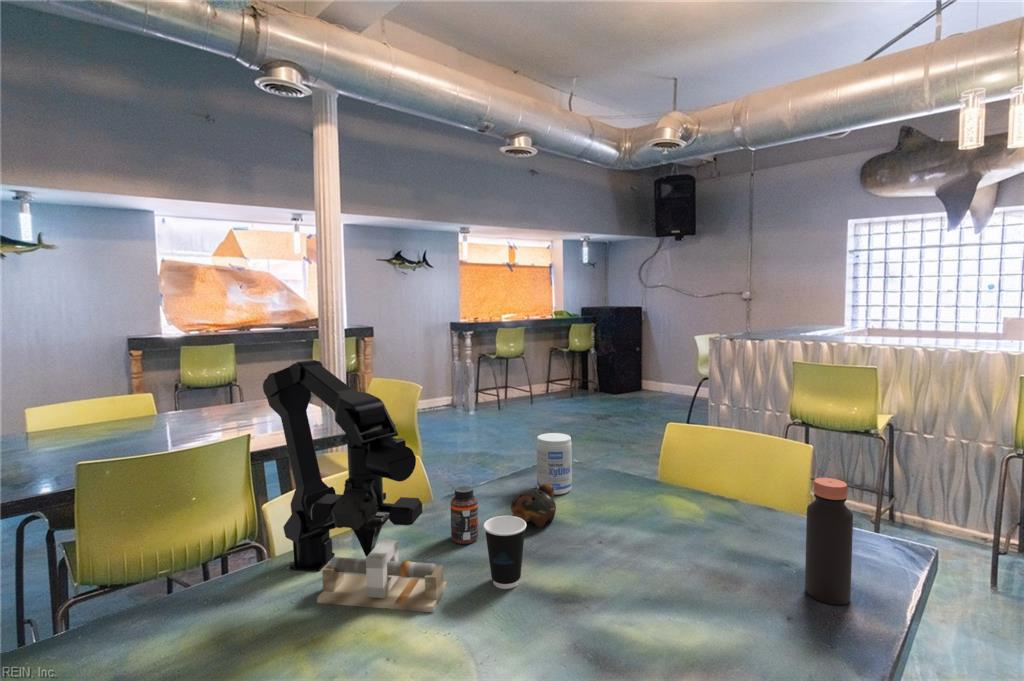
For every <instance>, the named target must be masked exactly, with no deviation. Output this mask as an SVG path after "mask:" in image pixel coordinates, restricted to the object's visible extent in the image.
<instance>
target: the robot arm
mask: <svg viewBox="0 0 1024 681" xmlns="http://www.w3.org/2000/svg"><path fill="white" fill-rule="evenodd" d="M266 377H267V378H265V379H264V380H263V383H262V389H263V393H264V395H265V396H266V400H267V402H268V405H269V407H270V408H271V409H272V410H273V411H274V412H275V413H276V414H277V415H278V416H279V417H280V419H281V420H280V421H281V424H282V429H283V433H284V434H283V435H284V438H285V443H286V448H287V451H288V458H289V461H290V466H291V470H292V474H293V475H292V476H293V480H294V485H295V490H294V493H293V495H292V498H291V501H290V511H291V515H290V516H289V518H288V519H287V521H286V522H285V524H284V525H283V533H284V535H285V538H286V539H288V540H290V541H292V546H293V550H292V551H293V562H292V563H291V564H289V569H290V570H301V571H314V572H318V571H320V570H321V571H322V569H323V568H324V567H325V566H326V565H327V564H328V563H329V562H330V561H331V559H332V558H333V557H336V556H335V555H336V554H335V552H333V539H332V538H331V537H330V531H331V530H334V529H336V528H337V529H342V528H345V529H346V528H348V529H351V530H352V531H353V533H354V534H355V536H356V538H357V540H358V542H359V544H360V547H361V549H362V551H363V553H364V556H365V557H367V556H368V555H369V554H370V552H371V551H372V550H373V549H374V548H375V547H376V546H377V541H378V539H379V536H380V533H381V531H382V528H383V526H384V525H385V524H386V523H387V522H388V520H389V521H390V522H391V523H392V525H394V526H411V525H413V524H414V523H416V521H417V519H419V517H420V516H421V515H422V514H423V503H422V501H421V500H420V498H419V497H405V496H404V497H403V496H400V497H399V498H398V499H397V500H396V501H395V502H394V503H390V502H384V501H385V500H386V499H387V493H386V492H384V487H383V486H384V484H383V482H384V480H383V479H384V478H385V479H388V480H392V481H395V482H405V481H406V480H408V479H410V477H411V476H412V474H413V473H414V471H415V468H416V463H417V457H416V455H415V452H414V451H413V449H412V448H411V447H409V446H406V439H405V438H403V437H402V438H401V437H399V438H396V437H398V436H399V432H398V430H397V428H396V424H395V423H394V421H393V420H392V418H391V415H390V414H389V412H388V410H387V408H386V406H385V403H384V402H383V400H382V399H381V398H379V397H377V396H376V395H373V394H371V393H369V392H365V391H359V390H356V389H353V388H352V387H350V386H349V385H347V383H345V382H344V381H342V380H341V379H340V378H338V377H337V376H336V375H335V374H333V373H332V372H331V371H330V370H328V369H326V367H324V365H323V364H322V362H321V361H319V360H316V359H311V360H303V361H296V362H295V363H292V364H291V365H290V366H288V367H286V368H282V369H281V370H278V371H276V372H271V373H269V374H268V375H267V376H266ZM312 394H313V395H314V396H315V397H317V398H318V399H320V401H322V402H323V404H325V405H327V407H329V408H330V409H331V410H332V411H333V413H334V421H335V423H336V424H337V425H338V426H339V428H340V429H341V431H343V433H345V434H344V435H343V436H342V437H341V438H340V443H343V444H345V445H346V446H347V447H346V448H347V467H348V468H347V469H348V472H347V473H348V478H346V479H345V480H344V490H343V492H342V494H341V493H339V494H336V493H337V492H336V489H335V488H334V487H333V486H328V485H327V484H326V483H325V482H324V481H323V479H322V475H321V470H320V466H319V462H318V456H317V453H316V448H315V443H314V439H313V435H312V430H311V426H310V421H309V417H308V416H309V415H308V412H307V410H308V407H309V404H310V401H311V399H312ZM381 428H382V429H381Z"/></svg>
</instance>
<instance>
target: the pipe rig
mask: <svg viewBox="0 0 1024 681" xmlns="http://www.w3.org/2000/svg"><path fill="white" fill-rule="evenodd" d="M348 573H349V574H348ZM351 573H352V574H351ZM363 574H364V575H363ZM321 575H322V592H320V594H319V595H318V596H317V597H316V598H317V599H316V600H317V602H316V603H317V604H326V605H338V606H352V607H363V608H374V609H385V608H388V610H390V609H391V610H399V611H401V610H402V611H412V612H423V613H424V612H425V613H434V612H435V610H436V608H437V606H438V604H439V602H440V600H441V599H442V597H443V595H444V593H445V591H446V589H447V587H448V585H447V584H448V583H447V582H448V581H446V580H444V566H443V565H441V564H440V565H437V564H436V563H432V562H431V563H430V562H429V563H428V562H413V561H410V560H403V561H401V560H399V561H389V562H388V563H387V575H389V576H399V578H398V579H397V581H396V582H395V583H394V585H393V586H392V588H391V589H390V590H389V592H388V593H387V595H386V596H385V597H384V598H375V597H367V576H366V558H356V557H355V558H354V557H341V556H340V557H339V556H334V557H333V558H332V559H331V560H330V561H329V562H328V563H327V564H326V565H325V566H324V567H323V568H322V569H321ZM389 608H390V609H389Z"/></svg>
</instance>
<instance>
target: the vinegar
mask: <svg viewBox="0 0 1024 681" xmlns="http://www.w3.org/2000/svg"><path fill="white" fill-rule="evenodd" d="M813 496H814V497H815V500H813V501H812V502H810V503H809V504H808V505H807V508H806V528H805V529H806V530H805V533H806V534H805V563H804V564H805V565H804V566H805V568H804V570H805V571H804V572H805V573H804V590H805V592H806V594H808V595H809V596H810V597H811V598H813V599H814V600H816V601H819V602H821V603H822V604H823V603H824V604H827V605H833V606H843V605H847V604H848V603H849V602H850V601H851V596H852V594H851V593H852V592H851V590H852V563H853V562H852V561H853V560H852V559H853V535H854V533H853V532H854V531H853V530H854V527H853V526H854V514H853V512H852V511H851V510H850V509H849V508H848V507H847V506H846V505H845V502H847V500H848V483H846V482H844V481H843V480H841V479H837V478H831V477H817V478H815V479H814V480H813Z"/></svg>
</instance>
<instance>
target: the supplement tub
mask: <svg viewBox="0 0 1024 681" xmlns="http://www.w3.org/2000/svg"><path fill="white" fill-rule="evenodd" d="M572 444H573V443H572V438H571V436H570V435H569V434H566V433H561V432H560V433H559V432H548V433H542V434H539V435H537V437H536V488H537V489H538V488H539V486H541V485H542V484H545V483H549V484H551V485H552V486H553V490H554V495H557V496H558V495H564V494H568V493H569V492H570V491H571V489H572V487H573V486H572V485H573V484H572V483H573V482H572V480H573V479H572V477H573V473H572V471H573V469H572V467H573V466H572V465H573V464H572V460H573V459H572V456H573V455H572V452H573V451H572V449H573V448H572Z"/></svg>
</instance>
